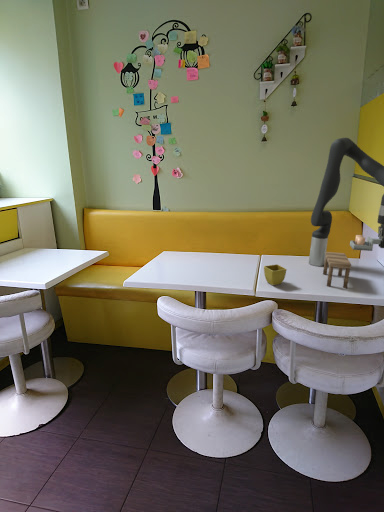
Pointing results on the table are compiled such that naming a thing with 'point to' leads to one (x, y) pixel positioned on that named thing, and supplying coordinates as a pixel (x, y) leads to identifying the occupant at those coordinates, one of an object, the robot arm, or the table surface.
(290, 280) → the table surface
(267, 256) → the table surface
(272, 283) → the flower pot
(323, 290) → the table surface
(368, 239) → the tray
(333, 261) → the slatted wooden stool
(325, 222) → the robot arm
